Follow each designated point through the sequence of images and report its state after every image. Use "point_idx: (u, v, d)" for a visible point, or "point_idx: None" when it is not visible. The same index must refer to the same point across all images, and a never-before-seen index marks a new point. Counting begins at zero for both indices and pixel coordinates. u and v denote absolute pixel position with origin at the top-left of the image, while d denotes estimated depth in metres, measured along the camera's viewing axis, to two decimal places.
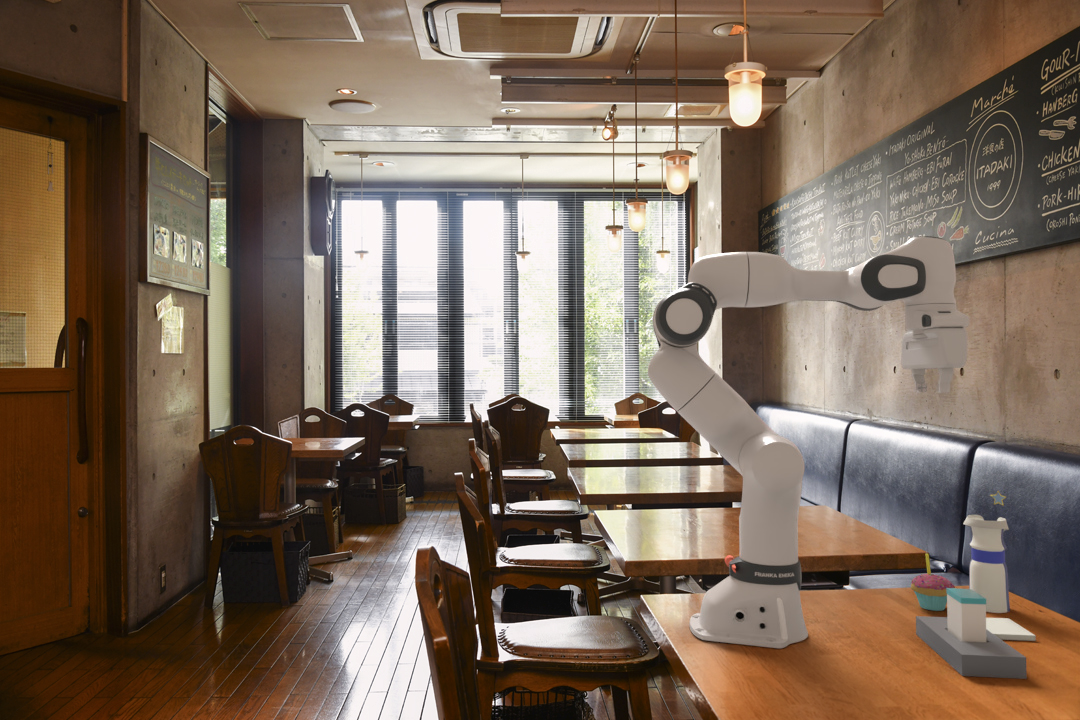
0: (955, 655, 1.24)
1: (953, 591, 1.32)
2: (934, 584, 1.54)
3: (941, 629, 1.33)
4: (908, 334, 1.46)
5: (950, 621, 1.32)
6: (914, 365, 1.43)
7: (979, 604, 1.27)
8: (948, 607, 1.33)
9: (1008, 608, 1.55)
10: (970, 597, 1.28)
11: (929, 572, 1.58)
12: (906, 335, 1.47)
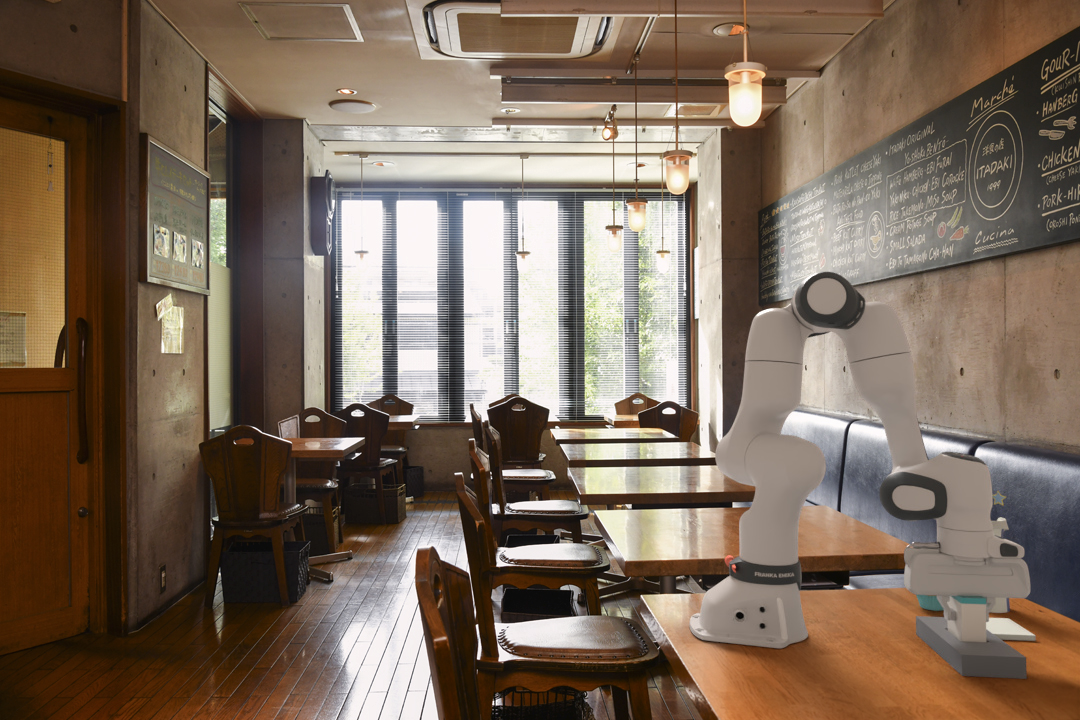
0: (955, 655, 1.24)
1: None
2: None
3: (941, 629, 1.33)
4: (934, 556, 1.30)
5: (950, 621, 1.32)
6: (950, 592, 1.29)
7: (979, 604, 1.27)
8: None
9: (1008, 608, 1.55)
10: (970, 597, 1.28)
11: None
12: (929, 557, 1.30)
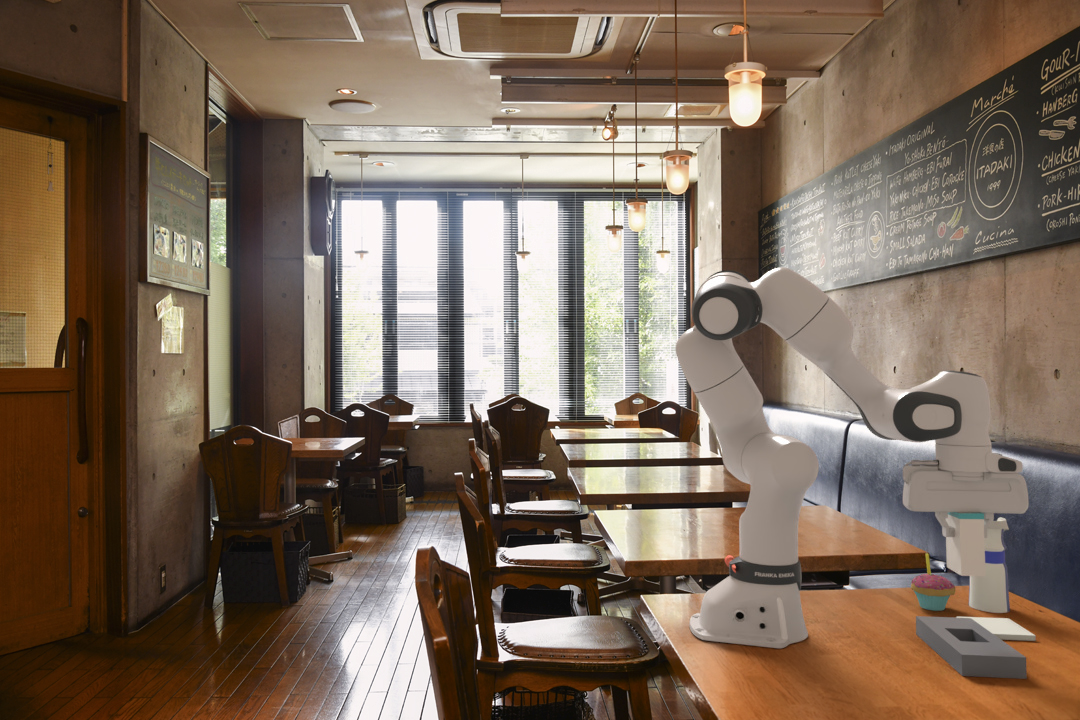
0: (955, 655, 1.24)
1: None
2: (935, 584, 1.54)
3: (941, 629, 1.33)
4: (932, 473, 1.30)
5: (949, 539, 1.33)
6: (949, 508, 1.30)
7: (977, 519, 1.28)
8: None
9: (1008, 608, 1.55)
10: (968, 512, 1.29)
11: (929, 572, 1.58)
12: (927, 474, 1.30)
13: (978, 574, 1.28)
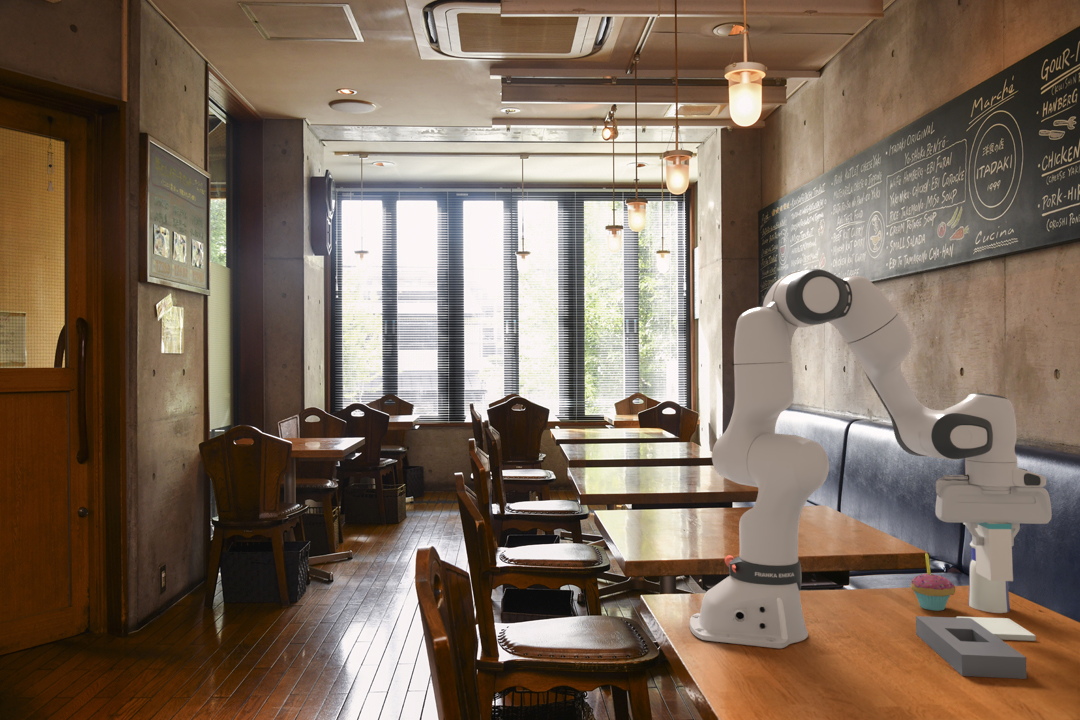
0: (955, 655, 1.24)
1: None
2: (934, 584, 1.54)
3: (941, 629, 1.33)
4: (963, 487, 1.43)
5: (978, 547, 1.45)
6: (979, 519, 1.42)
7: (1005, 529, 1.40)
8: None
9: (1008, 608, 1.55)
10: (996, 523, 1.41)
11: (929, 572, 1.59)
12: (959, 488, 1.43)
13: (1006, 579, 1.40)
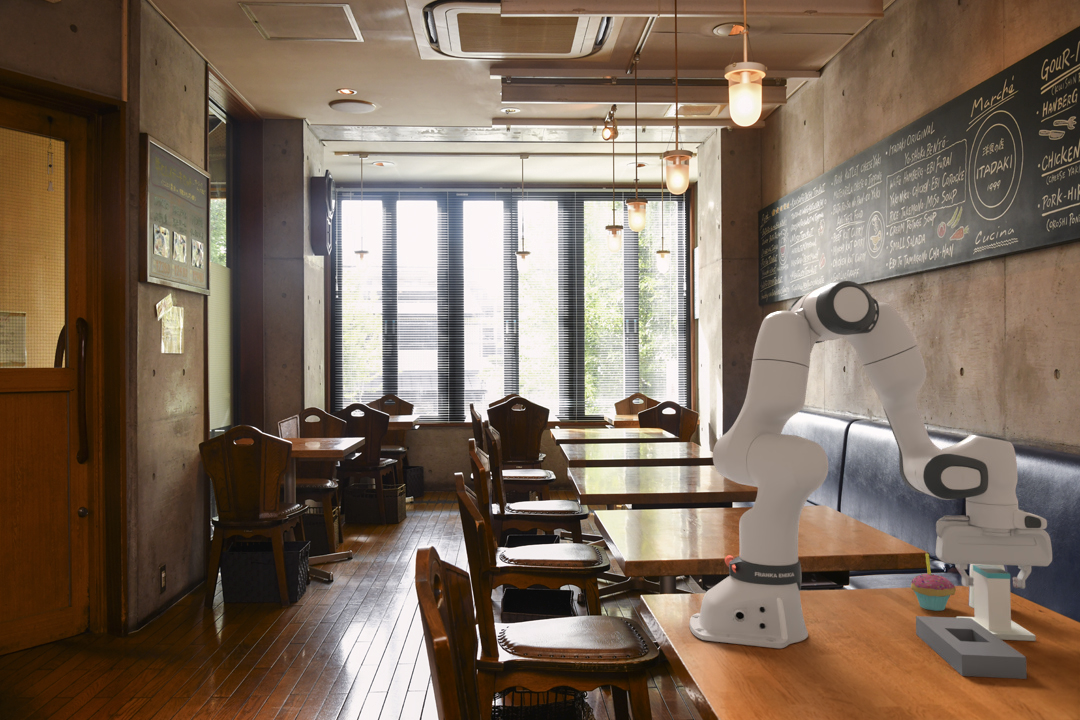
0: (955, 655, 1.24)
1: (979, 567, 1.44)
2: (935, 584, 1.54)
3: (941, 629, 1.33)
4: (964, 528, 1.42)
5: (977, 595, 1.45)
6: (979, 561, 1.42)
7: (1004, 579, 1.40)
8: (975, 582, 1.46)
9: None
10: (995, 572, 1.41)
11: (929, 572, 1.58)
12: (959, 529, 1.42)
13: (1004, 629, 1.40)
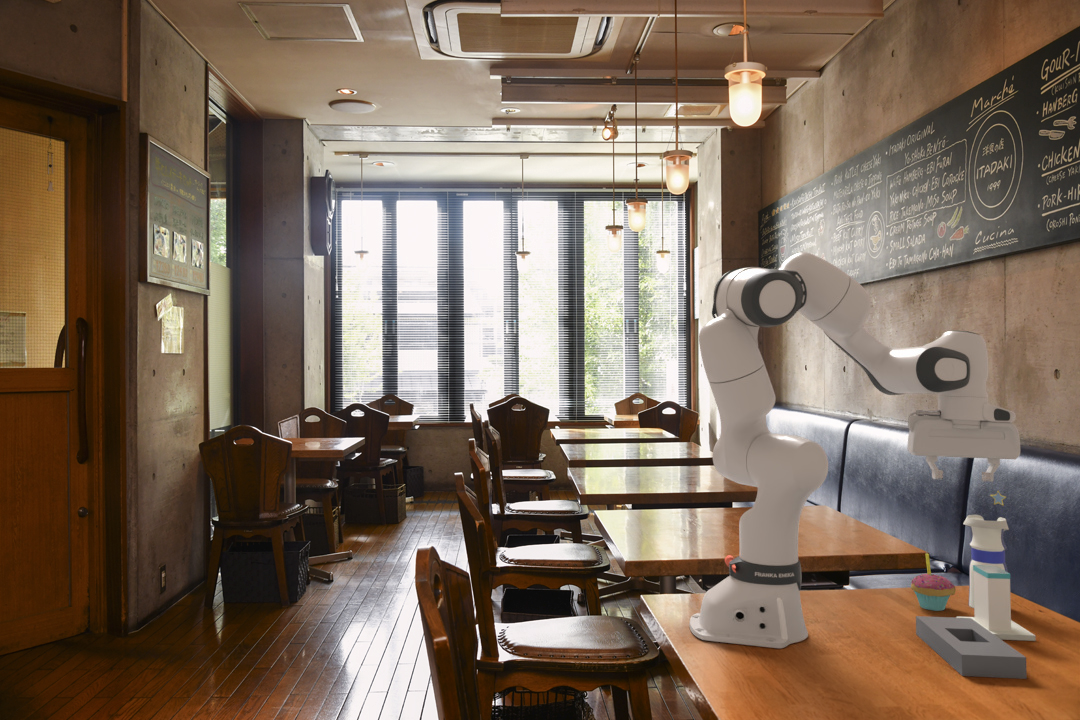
0: (955, 655, 1.24)
1: (979, 567, 1.44)
2: (934, 584, 1.54)
3: (941, 629, 1.33)
4: (935, 421, 1.46)
5: (977, 595, 1.45)
6: (949, 453, 1.45)
7: (1004, 579, 1.40)
8: (975, 582, 1.46)
9: None
10: (995, 572, 1.41)
11: (929, 572, 1.58)
12: (930, 422, 1.46)
13: (1004, 629, 1.40)
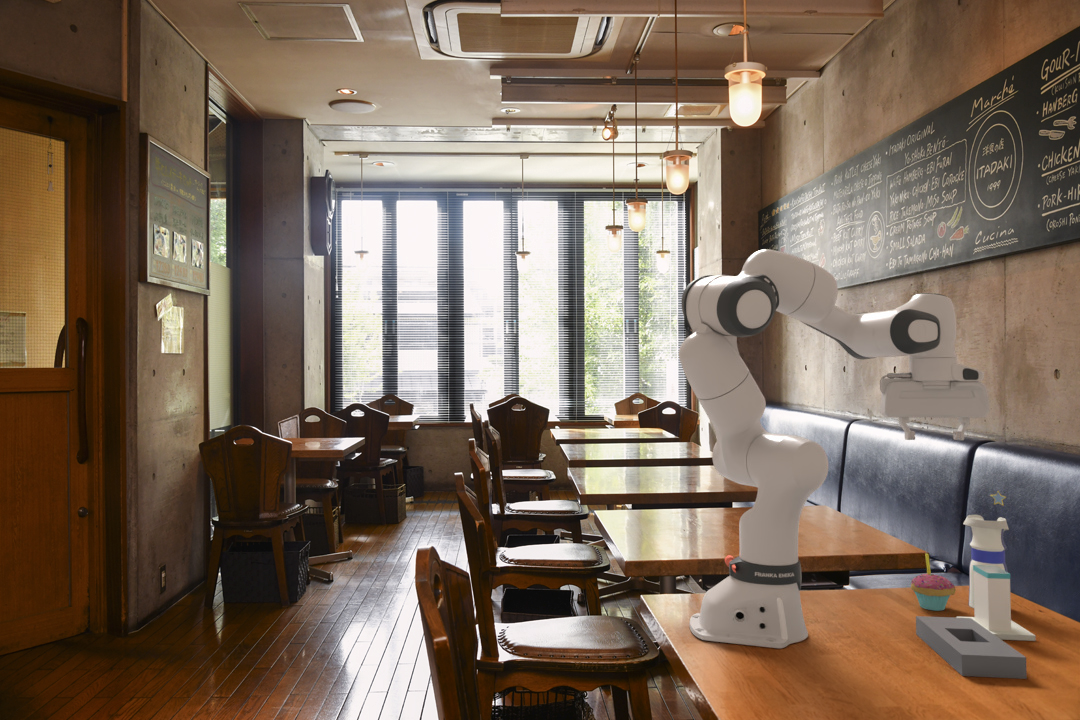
0: (955, 655, 1.24)
1: (979, 567, 1.44)
2: (934, 584, 1.54)
3: (941, 629, 1.33)
4: (906, 383, 1.48)
5: (977, 595, 1.45)
6: (920, 414, 1.48)
7: (1004, 579, 1.40)
8: (975, 582, 1.46)
9: None
10: (995, 572, 1.41)
11: (929, 572, 1.59)
12: (901, 384, 1.48)
13: (1004, 629, 1.40)
